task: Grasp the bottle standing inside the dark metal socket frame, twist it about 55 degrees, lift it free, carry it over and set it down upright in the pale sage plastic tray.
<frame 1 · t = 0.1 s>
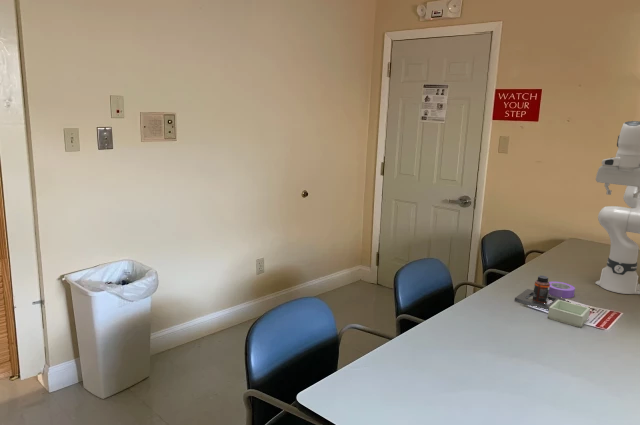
hand: (621, 196, 197), 48 cm above the table, fingers open, 8 cm apart
masking tape: (559, 294, 220), on the table
supplement bottle: (539, 302, 209), resting in socket frame
socket frame: (539, 301, 209), on the table
tray: (568, 318, 193), on the table
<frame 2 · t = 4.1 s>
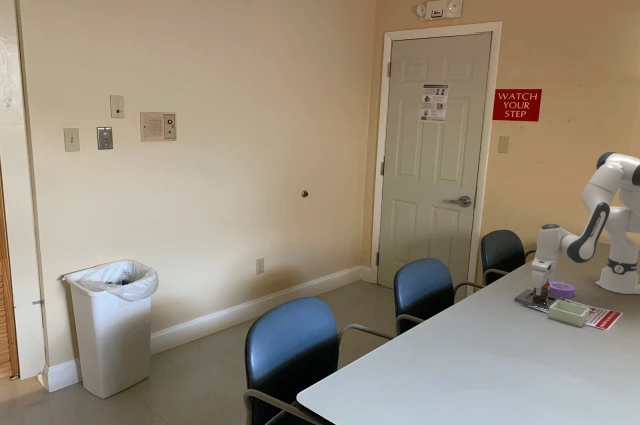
hand: (541, 292, 208), 4 cm above the table, fingers closed on supplement bottle, 6 cm apart
supplement bottle: (539, 302, 209), resting in socket frame, touching gripper
everything else where it was.
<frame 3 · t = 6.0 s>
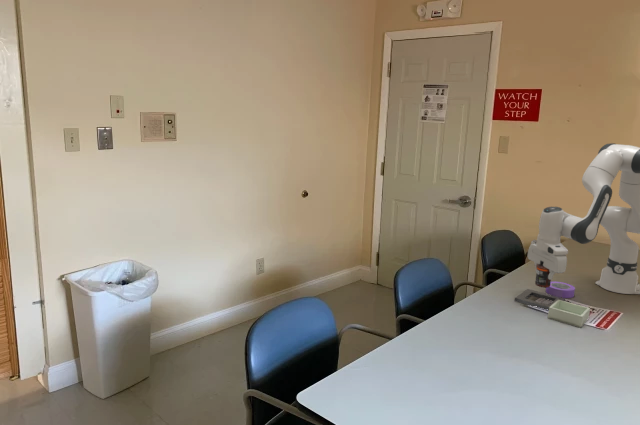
hand: (543, 276, 207), 11 cm above the table, fingers closed on supplement bottle, 6 cm apart
supplement bottle: (542, 286, 208), point 7 cm above the table, touching gripper
everything else where it was.
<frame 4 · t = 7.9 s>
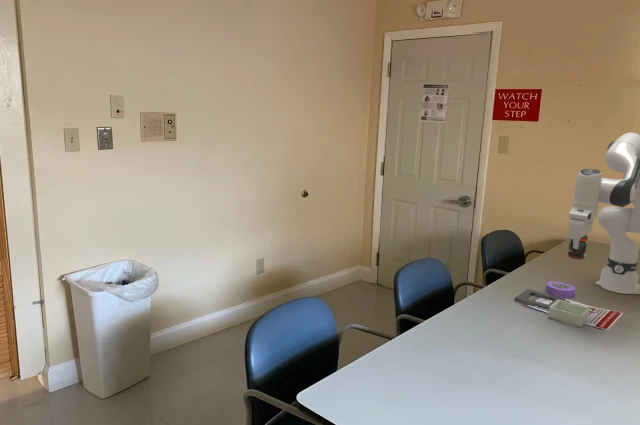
hand: (578, 246, 187), 29 cm above the table, fingers closed on supplement bottle, 6 cm apart
supplement bottle: (576, 258, 188), point 25 cm above the table, touching gripper
everything else where it was.
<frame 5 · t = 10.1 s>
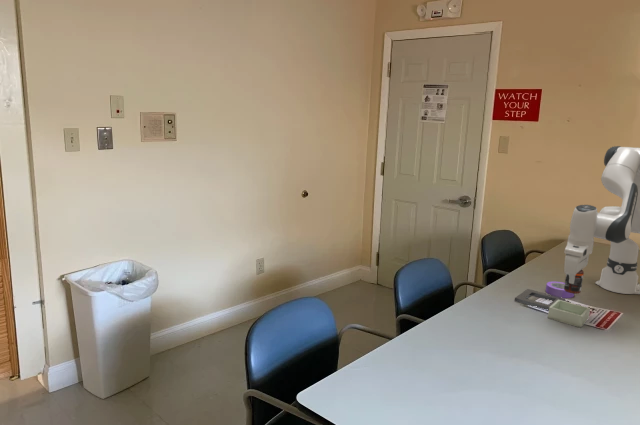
hand: (574, 281, 189), 16 cm above the table, fingers closed on supplement bottle, 6 cm apart
supplement bottle: (572, 292, 190), point 11 cm above the table, touching gripper
everything else where it was.
when the fingers open (6 cm above the table, at t = 12.1 s): supplement bottle drops 1 cm, resting on tray.
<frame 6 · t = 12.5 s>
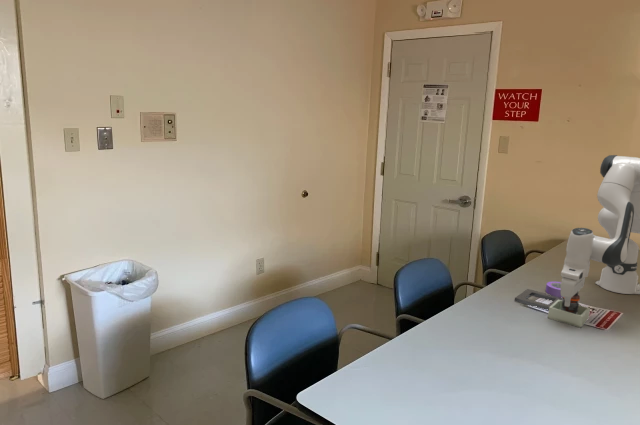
hand: (570, 302, 191), 7 cm above the table, fingers open, 8 cm apart
supplement bottle: (568, 316, 193), point 1 cm above the table, touching tray
everything else where it was.
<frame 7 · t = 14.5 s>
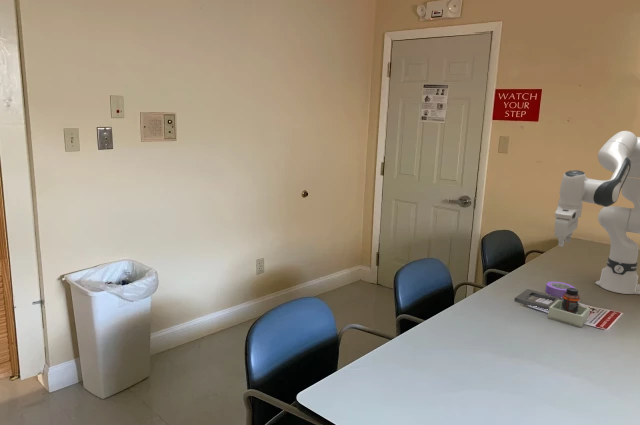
hand: (564, 243, 198), 28 cm above the table, fingers open, 8 cm apart
nothing on the table moved.
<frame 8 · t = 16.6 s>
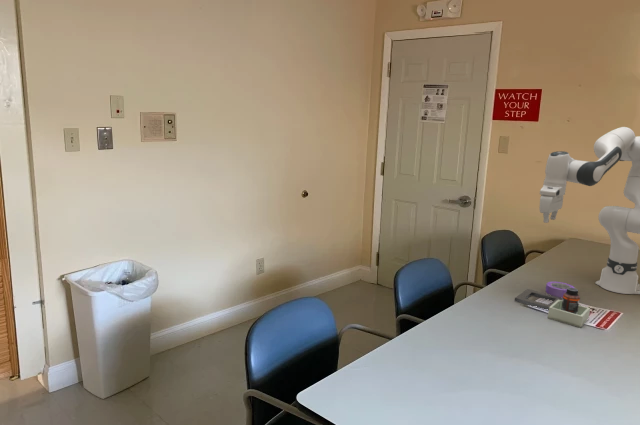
hand: (549, 221, 210), 34 cm above the table, fingers open, 8 cm apart
nothing on the table moved.
at the end: supplement bottle inside the target area on the tray (0.5 cm from its centre), point 0.6 cm above the tray's base; supplement bottle tilted 0°; the gripper is holding nothing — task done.
